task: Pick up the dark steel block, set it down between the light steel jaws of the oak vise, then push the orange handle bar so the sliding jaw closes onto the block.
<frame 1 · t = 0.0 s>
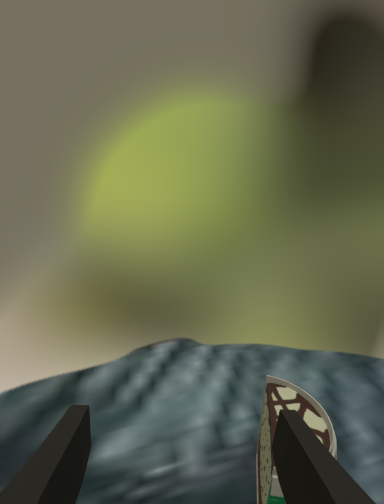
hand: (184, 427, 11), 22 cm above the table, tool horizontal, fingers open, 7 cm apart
food container: (287, 503, 30), on the table
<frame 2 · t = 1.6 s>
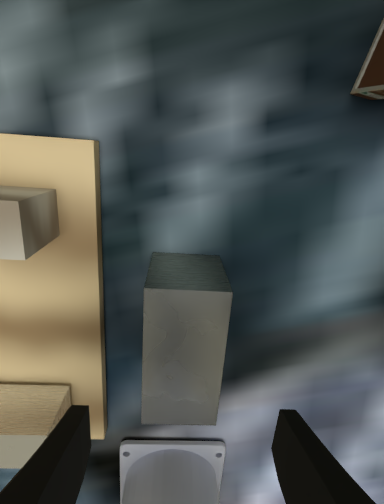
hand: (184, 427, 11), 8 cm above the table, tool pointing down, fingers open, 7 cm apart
steel block: (182, 310, 19), on the table
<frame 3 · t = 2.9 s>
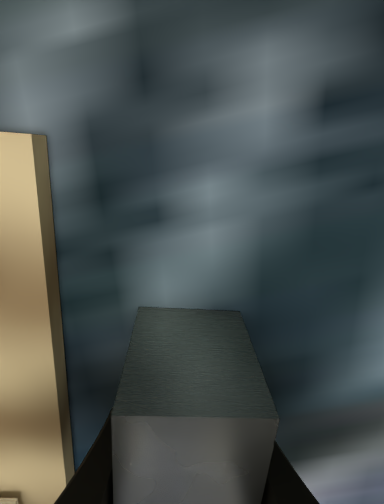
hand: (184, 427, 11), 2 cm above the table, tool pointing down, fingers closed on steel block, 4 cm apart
steel block: (183, 389, 13), on the table, touching gripper
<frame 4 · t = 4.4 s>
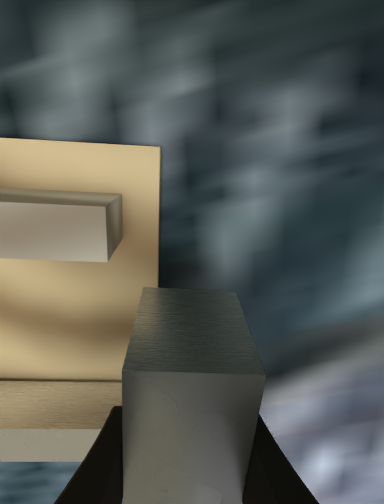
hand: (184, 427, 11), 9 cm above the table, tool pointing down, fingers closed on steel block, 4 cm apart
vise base: (49, 304, 19), on the table
steel block: (184, 363, 14), point 6 cm above the table, touching gripper
when the fingers open (4 cm above the table, at t = 6.3 s): steel block stays where it is, resting on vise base.
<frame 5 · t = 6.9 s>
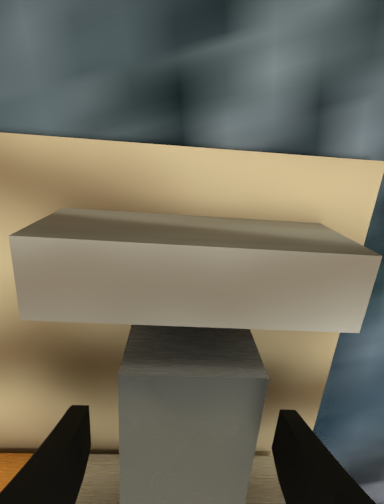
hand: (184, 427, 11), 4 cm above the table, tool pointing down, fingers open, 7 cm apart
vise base: (183, 358, 15), on the table
steel block: (183, 367, 14), point 1 cm above the table, touching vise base
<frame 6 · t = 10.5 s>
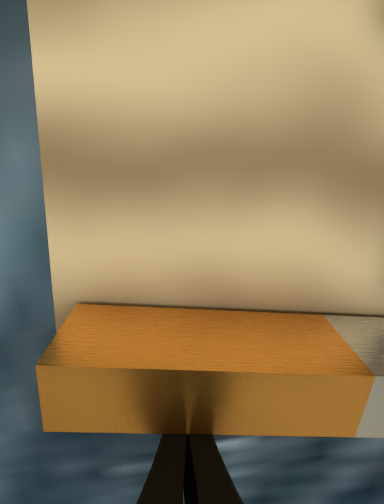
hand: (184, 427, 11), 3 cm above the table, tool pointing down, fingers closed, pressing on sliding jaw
sliding jaw: (337, 369, 11), point 3 cm above the table, slide at 0.0 cm, touching gripper
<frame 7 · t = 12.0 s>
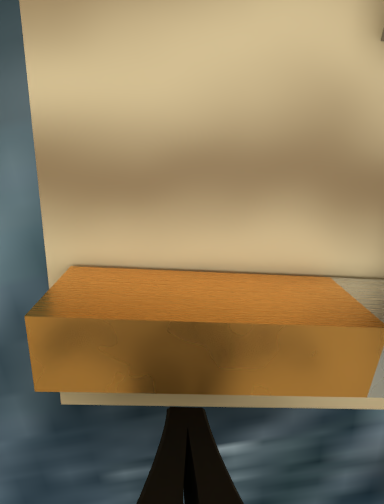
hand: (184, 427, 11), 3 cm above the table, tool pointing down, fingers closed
sliding jaw: (346, 330, 10), point 3 cm above the table, slide at 2.0 cm, touching steel block
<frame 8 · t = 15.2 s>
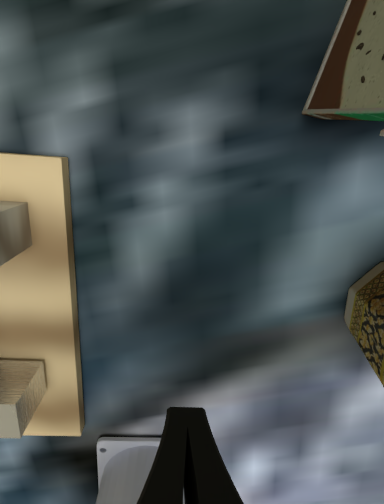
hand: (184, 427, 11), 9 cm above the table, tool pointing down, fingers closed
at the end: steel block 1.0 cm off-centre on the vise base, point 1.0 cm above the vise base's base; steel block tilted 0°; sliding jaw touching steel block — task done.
